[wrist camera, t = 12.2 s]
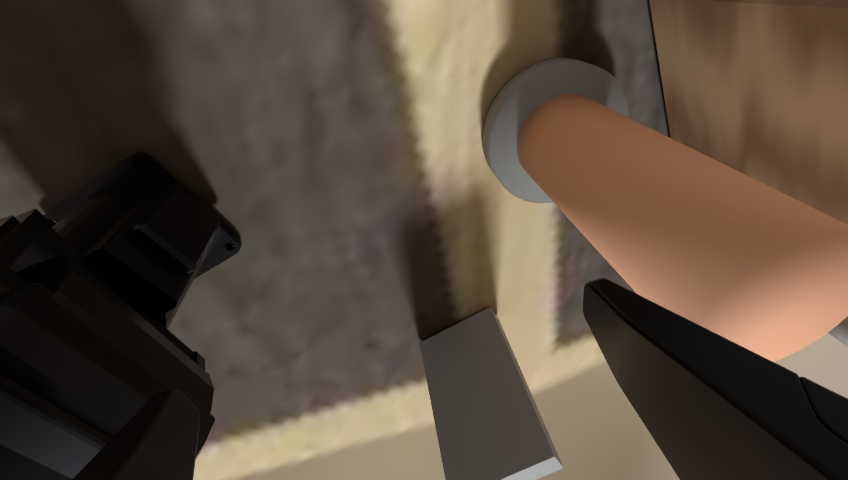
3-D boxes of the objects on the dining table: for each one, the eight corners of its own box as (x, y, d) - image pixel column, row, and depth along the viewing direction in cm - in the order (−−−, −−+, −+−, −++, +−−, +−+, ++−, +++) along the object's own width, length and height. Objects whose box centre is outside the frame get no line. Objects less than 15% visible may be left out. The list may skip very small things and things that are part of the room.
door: (722, 212, 25) (905, 326, 17) (683, 232, 25) (842, 352, 17) (704, -36, 17) (1044, -53, 9) (645, 0, 17) (916, 15, 9)
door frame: (429, 353, 28) (462, 510, 20) (419, 342, 28) (449, 501, 19) (753, 191, 25) (962, 300, 16) (753, 173, 24) (973, 278, 15)
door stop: (496, 206, 22) (637, 428, 11) (469, 86, 18) (646, 245, 7) (612, 166, 22) (875, 353, 11) (610, 35, 18) (1021, 120, 7)
